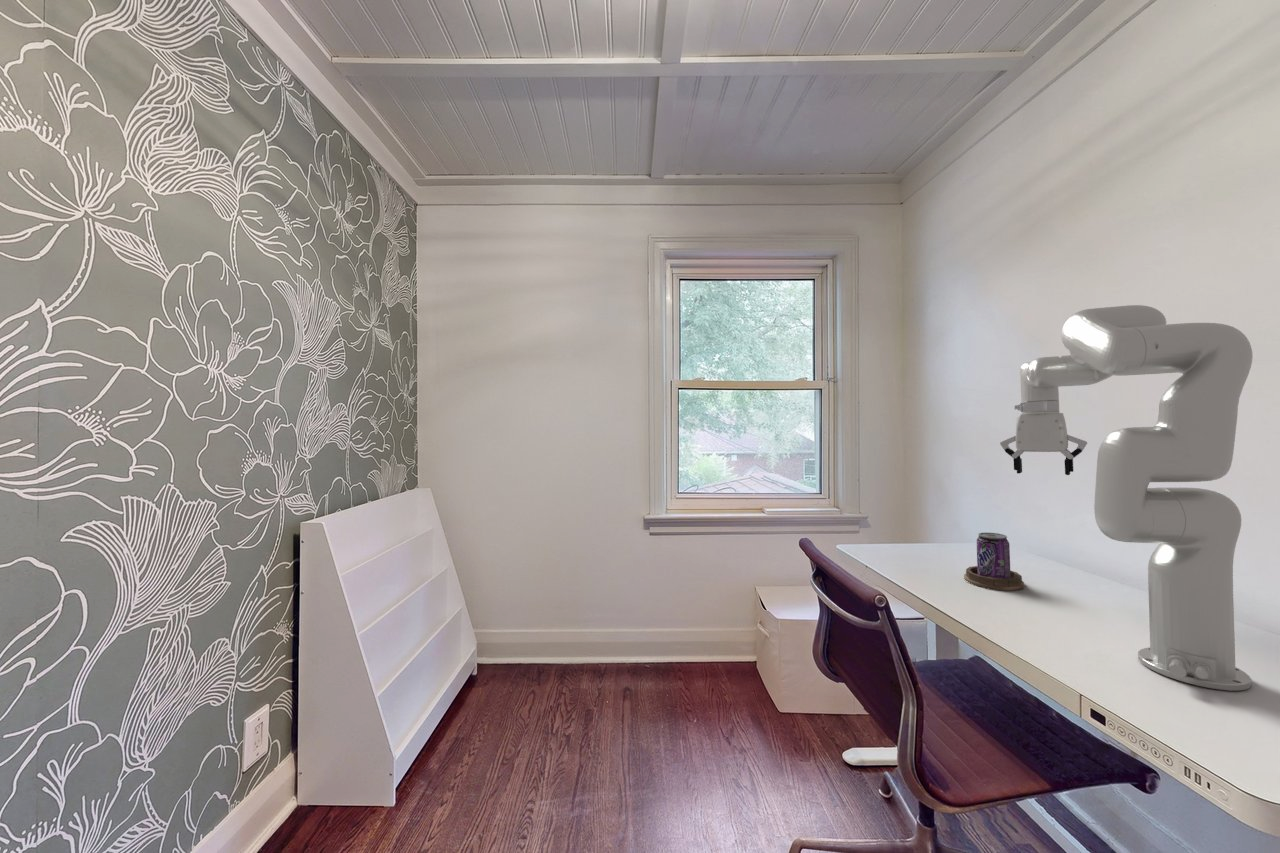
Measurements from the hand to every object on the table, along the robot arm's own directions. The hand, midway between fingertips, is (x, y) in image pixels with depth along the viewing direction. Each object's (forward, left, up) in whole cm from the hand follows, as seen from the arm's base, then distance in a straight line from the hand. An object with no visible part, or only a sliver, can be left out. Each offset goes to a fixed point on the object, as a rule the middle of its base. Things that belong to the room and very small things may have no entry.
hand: (1042, 473), depth 122 cm
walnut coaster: (-6, +10, -29) cm, 32 cm away
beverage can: (-7, +10, -29) cm, 31 cm away
